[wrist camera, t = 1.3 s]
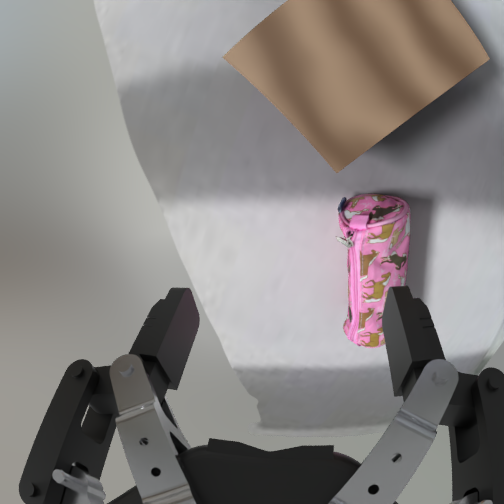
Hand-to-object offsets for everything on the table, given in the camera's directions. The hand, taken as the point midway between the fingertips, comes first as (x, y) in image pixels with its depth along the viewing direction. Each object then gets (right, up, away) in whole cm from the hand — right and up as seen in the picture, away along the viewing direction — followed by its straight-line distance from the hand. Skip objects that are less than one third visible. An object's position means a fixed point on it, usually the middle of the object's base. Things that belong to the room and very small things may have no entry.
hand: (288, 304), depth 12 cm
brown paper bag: (+9, +24, +13) cm, 29 cm away
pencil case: (+15, +1, +28) cm, 32 cm away
